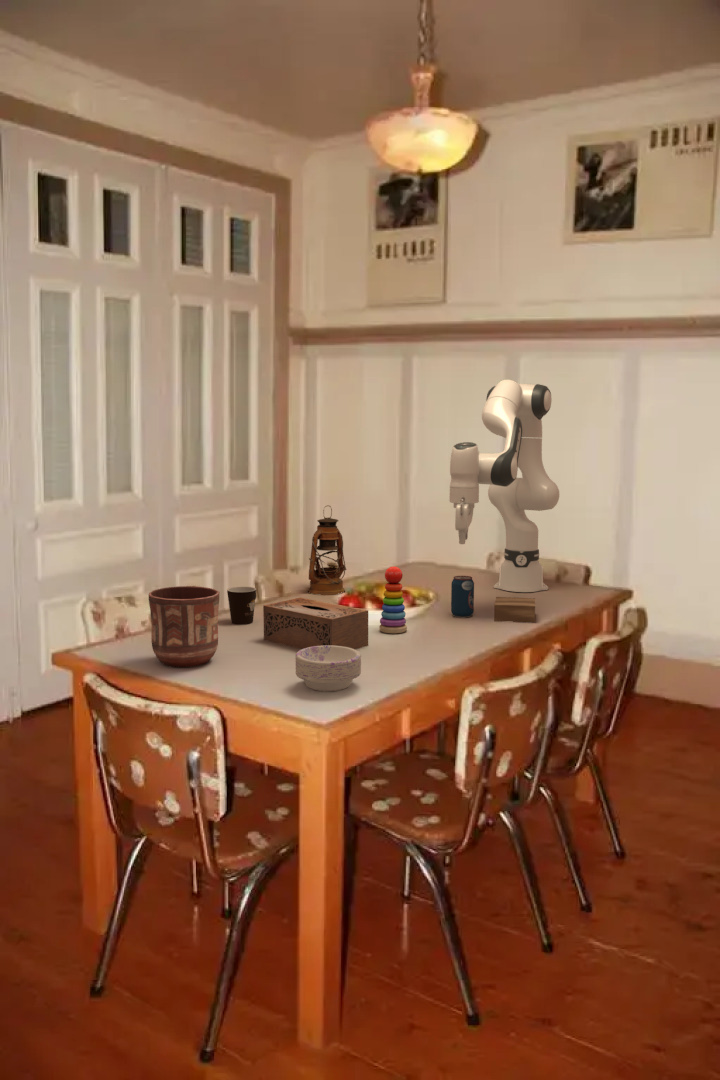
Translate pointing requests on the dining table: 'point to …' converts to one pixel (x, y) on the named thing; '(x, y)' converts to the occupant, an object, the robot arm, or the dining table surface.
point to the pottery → (184, 625)
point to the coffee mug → (241, 604)
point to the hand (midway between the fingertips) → (463, 541)
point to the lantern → (328, 537)
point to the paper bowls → (328, 667)
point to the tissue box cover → (315, 624)
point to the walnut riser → (514, 609)
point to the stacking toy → (393, 603)
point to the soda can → (462, 596)
